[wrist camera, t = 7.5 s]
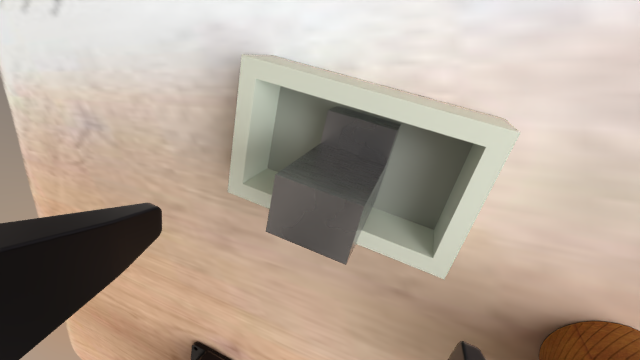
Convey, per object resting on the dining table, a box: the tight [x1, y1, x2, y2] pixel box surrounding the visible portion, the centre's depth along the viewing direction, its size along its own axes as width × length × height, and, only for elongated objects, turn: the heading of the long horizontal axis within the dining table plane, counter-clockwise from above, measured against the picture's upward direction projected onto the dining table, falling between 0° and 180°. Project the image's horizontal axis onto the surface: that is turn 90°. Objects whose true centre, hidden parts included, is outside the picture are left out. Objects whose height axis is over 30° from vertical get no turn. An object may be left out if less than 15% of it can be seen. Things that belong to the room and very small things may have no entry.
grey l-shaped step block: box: [266, 106, 401, 265], centre depth 16 cm, size 5×4×8 cm
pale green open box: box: [228, 55, 520, 279], centre depth 18 cm, size 8×14×4 cm, turn 77°
